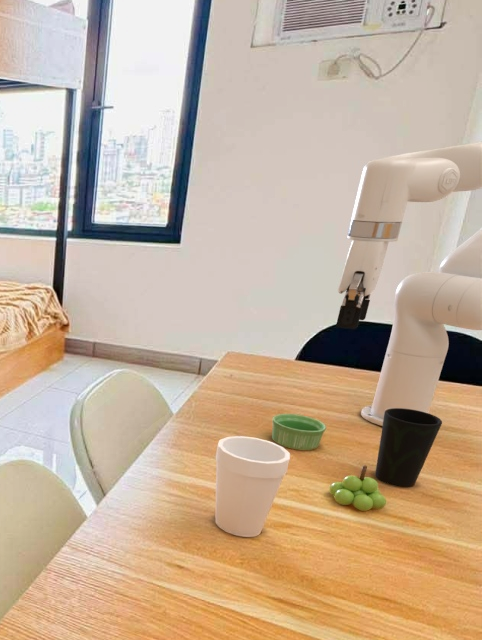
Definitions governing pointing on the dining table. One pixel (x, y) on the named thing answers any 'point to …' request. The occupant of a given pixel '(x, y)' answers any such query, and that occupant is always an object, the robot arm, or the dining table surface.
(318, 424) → the ramekin
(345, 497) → the grapes
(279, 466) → the foam cup
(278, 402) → the dining table surface
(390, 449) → the cup
